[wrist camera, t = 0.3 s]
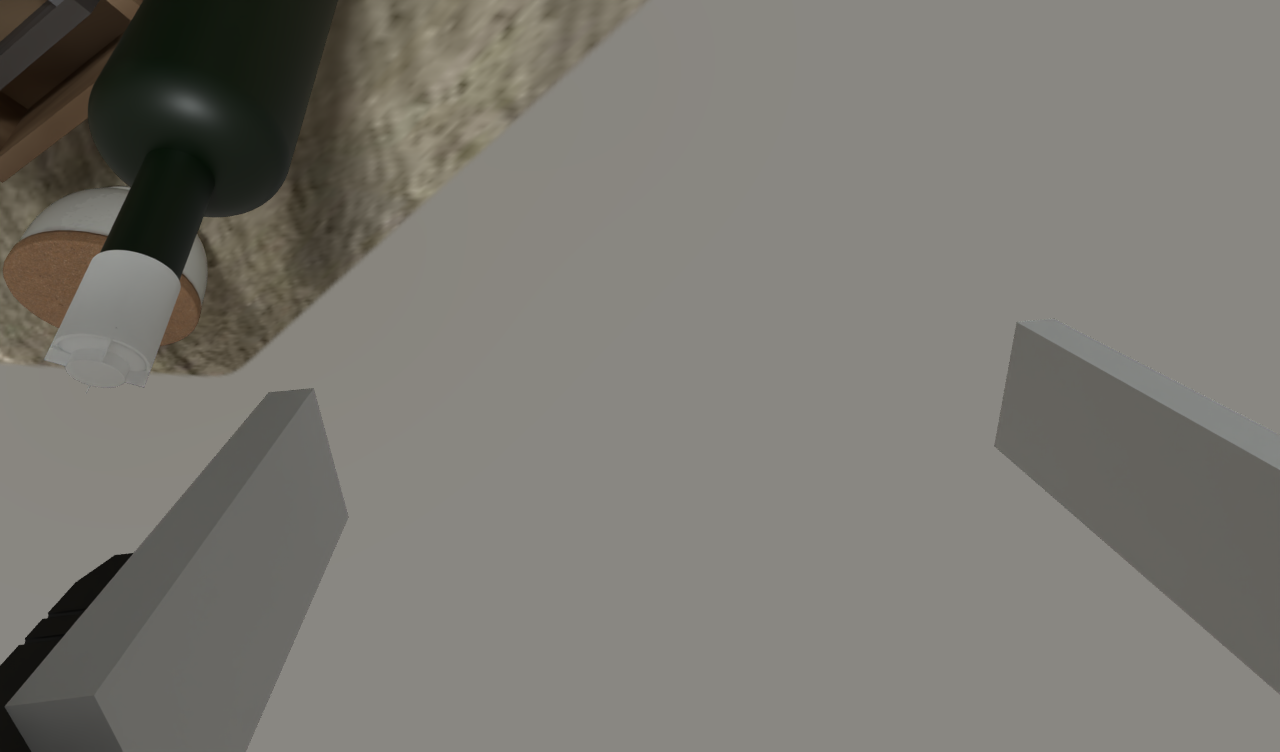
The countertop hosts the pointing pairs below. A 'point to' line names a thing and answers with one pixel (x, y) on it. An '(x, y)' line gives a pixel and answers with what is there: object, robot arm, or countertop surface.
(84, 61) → the crate
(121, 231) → the wine bottle
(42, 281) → the lidded jar
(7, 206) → the countertop surface
